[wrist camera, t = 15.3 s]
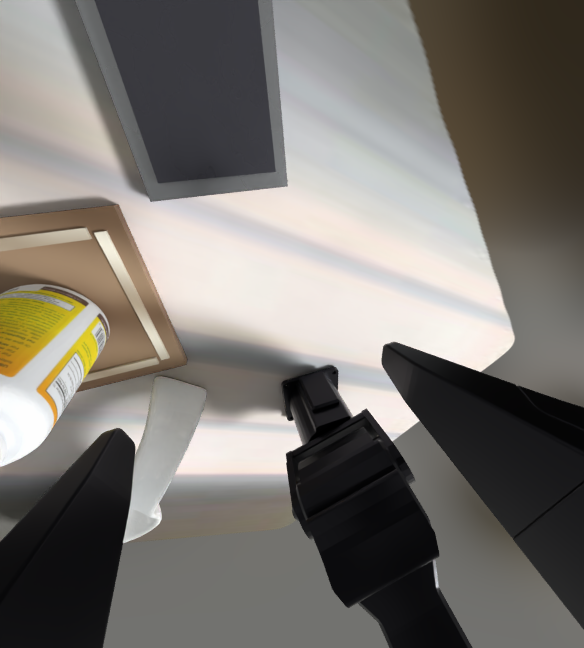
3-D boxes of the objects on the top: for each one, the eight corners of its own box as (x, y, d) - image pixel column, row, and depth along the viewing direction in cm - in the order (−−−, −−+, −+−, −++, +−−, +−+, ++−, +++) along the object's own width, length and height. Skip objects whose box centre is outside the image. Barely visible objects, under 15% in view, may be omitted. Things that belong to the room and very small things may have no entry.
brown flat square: (187, 358, 20) (186, 366, 19) (24, 398, 18) (14, 409, 17) (118, 204, 13) (112, 205, 13) (-156, 235, 11) (-186, 239, 10)
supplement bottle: (-30, 301, 13) (-462, 513, 5) (69, 267, 14) (-158, 402, 5) (53, 367, 16) (-114, 563, 8) (131, 337, 17) (53, 490, 8)
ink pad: (282, 186, 15) (290, 186, 14) (154, 200, 14) (148, 202, 12) (257, -83, 10) (265, -130, 8) (41, -110, 8) (5, -173, 7)
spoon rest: (142, 515, 30) (125, 595, 24) (21, 517, 24) (-41, 624, 18) (237, 393, 24) (245, 460, 18) (106, 355, 18) (55, 437, 12)
